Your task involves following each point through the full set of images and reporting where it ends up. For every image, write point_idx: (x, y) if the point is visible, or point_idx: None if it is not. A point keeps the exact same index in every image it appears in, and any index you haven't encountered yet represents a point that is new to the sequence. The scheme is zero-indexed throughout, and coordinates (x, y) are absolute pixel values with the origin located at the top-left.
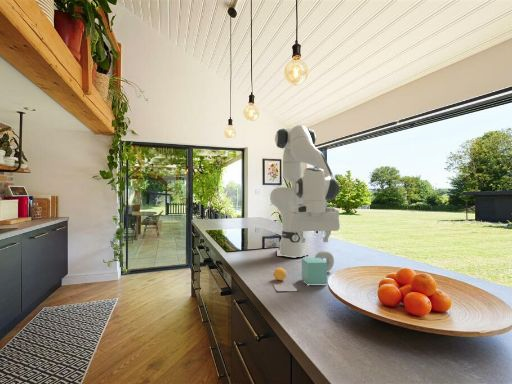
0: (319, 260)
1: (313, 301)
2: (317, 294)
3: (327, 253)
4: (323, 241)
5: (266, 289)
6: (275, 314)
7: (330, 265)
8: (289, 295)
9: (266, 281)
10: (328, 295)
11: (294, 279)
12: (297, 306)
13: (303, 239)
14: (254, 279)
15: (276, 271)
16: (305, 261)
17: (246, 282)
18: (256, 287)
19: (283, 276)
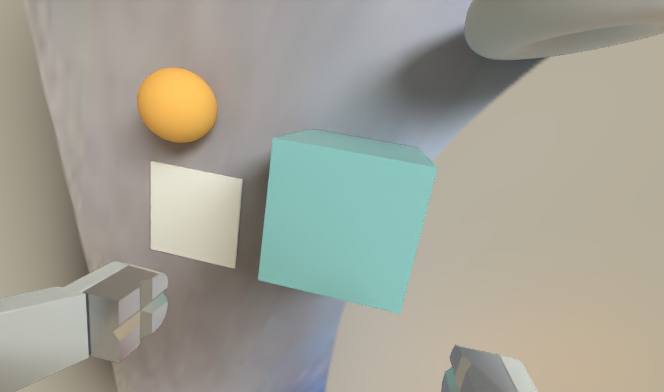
0: (378, 248)
1: (254, 355)
2: (296, 314)
3: (658, 14)
4: (452, 358)
5: (120, 203)
6: (120, 379)
7: (606, 44)
8: (191, 286)
9: (133, 106)
10: (333, 336)
11: (276, 116)
12: (191, 364)
13: (108, 346)
14: (81, 58)
15: (142, 119)
16: (263, 231)
17: (45, 94)
18: (84, 169)
19: (193, 140)
